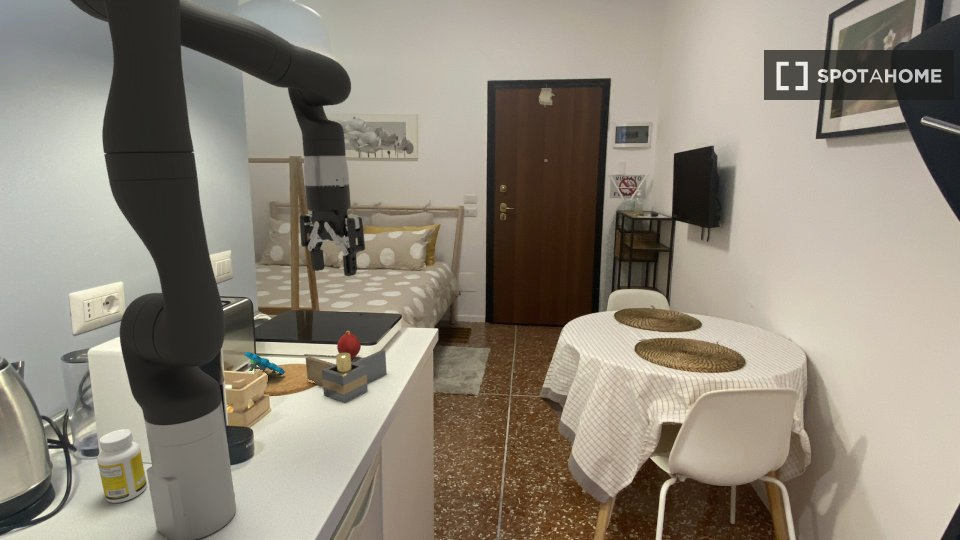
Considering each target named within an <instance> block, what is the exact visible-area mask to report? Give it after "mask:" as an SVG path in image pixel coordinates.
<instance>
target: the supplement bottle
mask: <svg viewBox="0 0 960 540" xmlns="http://www.w3.org/2000/svg"><path fill="white" fill-rule="evenodd" d="M133 439H134V437H133V434H132V430H131V429H128V428H125V429H124V428H122V429H118V430H113V431H111V432H108V433H105V434H104V435H103V436H101V437H100V439H99V446H100V449H101V451H100V452H99V454H98V455H97V459H96V460H97V467H98V470H99V477H100V479H101V483H102V490H103V493H104V497H105V500H106V501H107V502H109V503H113V504H114V503H116V504H117V503H123V502H128V501H129V500H131V499H134V498H136V497H138V496H139V495H141V494H142V493H143V492H144V491H145V490H146V488H147V485H148V483H147V482H148V481H147V476H146V473H145V468H144V467H145V466H144V462H143V457H142V450H141V447H140V445H139V443H138V442H135V441H133Z"/></svg>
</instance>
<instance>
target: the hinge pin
mask: <svg viewBox="0 0 960 540" xmlns="http://www.w3.org/2000/svg"><path fill="white" fill-rule="evenodd" d="M335 359H336V361H335V362H336V364H337V372H338V373H342V374H344V373H346V372H349V371H351V370H352V368H351V362H352V360H351V357H350V353H340V354H339V353H338V354H336V355H335Z"/></svg>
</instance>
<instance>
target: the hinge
mask: <svg viewBox="0 0 960 540" xmlns="http://www.w3.org/2000/svg"><path fill="white" fill-rule="evenodd" d="M386 355H387V354H386V350H385V349H381V350H379V351H376V352H374V353H372V354H370V355H368V356H366V357H363V358H360V359H359V360H356V361H354V362H353V361H351V368H352V370H351V371H349V372H346V373H344V374H342V373H338V372H337V363H333V362H329V361H327V360H322V359H319V358H316V357H313V356H307V357H305V368H306V376H307V377H306V378H307V380H308V379H309V380H312V381H314V382H315V383H316V384H317V385H316V386H318V387H321V386H322V387H321V388H322V389H323V396H324V397H325V398H326V397H327V398H330V399H332V400H335V401H338V402H340V403H344V404H346V403H348V402H350V401H352V400H353V399H355V398H357V397H359V396H361V395H364V394H365V393H367V392H369V390H368V385H369V384H370V383H373V382H375V381H376V380H379V379H380V378H382V377H384V376H386V375H387V357H386Z"/></svg>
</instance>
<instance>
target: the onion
mask: <svg viewBox="0 0 960 540" xmlns="http://www.w3.org/2000/svg"><path fill="white" fill-rule="evenodd" d="M336 345H337V346H336V348H337V352H338V354H340V353H350V357H351V361H352V360H353V359H355V357H356V356H357V355H358V354H359V353H360V350H361V347H362V346H361V345H362V344H361V341H360V339H359V337H357V336H356V335H355V334H353V333H351V332H350V330H346V331H345V334H343V335H342V336H341V337H340V338H339V340H338V341H337V344H336Z"/></svg>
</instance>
